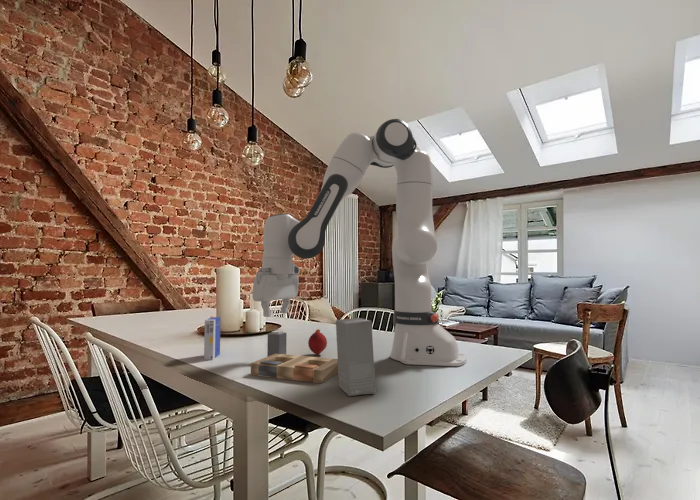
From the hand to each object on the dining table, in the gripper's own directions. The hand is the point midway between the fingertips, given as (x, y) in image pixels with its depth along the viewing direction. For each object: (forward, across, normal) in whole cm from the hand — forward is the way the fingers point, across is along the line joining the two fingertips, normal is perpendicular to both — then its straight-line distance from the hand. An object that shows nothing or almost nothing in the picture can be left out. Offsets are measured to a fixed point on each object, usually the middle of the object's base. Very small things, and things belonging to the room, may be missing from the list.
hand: (276, 314), depth 116 cm
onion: (+13, +11, -9) cm, 20 cm away
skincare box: (+13, -18, -32) cm, 39 cm away
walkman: (+14, -3, +20) cm, 25 cm away
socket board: (+13, -10, -13) cm, 21 cm away
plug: (+13, 0, -1) cm, 13 cm away
